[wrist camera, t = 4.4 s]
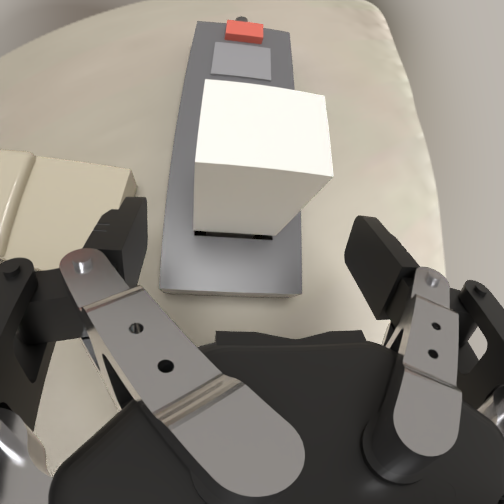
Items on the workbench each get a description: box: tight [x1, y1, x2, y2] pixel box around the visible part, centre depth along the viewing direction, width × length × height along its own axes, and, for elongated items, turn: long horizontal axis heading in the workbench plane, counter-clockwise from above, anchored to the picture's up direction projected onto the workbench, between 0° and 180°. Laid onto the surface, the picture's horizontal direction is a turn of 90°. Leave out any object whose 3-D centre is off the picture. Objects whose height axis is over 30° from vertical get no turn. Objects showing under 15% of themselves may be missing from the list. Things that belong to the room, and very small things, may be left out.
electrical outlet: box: [0, 149, 137, 271], centre depth 17 cm, size 7×4×18 cm
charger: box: [193, 79, 333, 239], centre depth 16 cm, size 5×4×12 cm
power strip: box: [159, 17, 302, 298], centre depth 21 cm, size 8×26×4 cm, turn 179°
